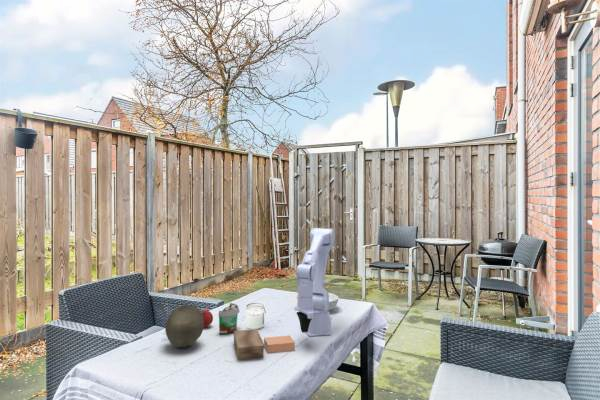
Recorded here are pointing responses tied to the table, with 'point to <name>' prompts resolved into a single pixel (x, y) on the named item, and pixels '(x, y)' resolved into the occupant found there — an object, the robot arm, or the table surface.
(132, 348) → the table surface
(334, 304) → the serving bowl
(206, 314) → the onion
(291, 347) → the peach block
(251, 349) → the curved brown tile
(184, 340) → the cantaloupe
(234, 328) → the food container
